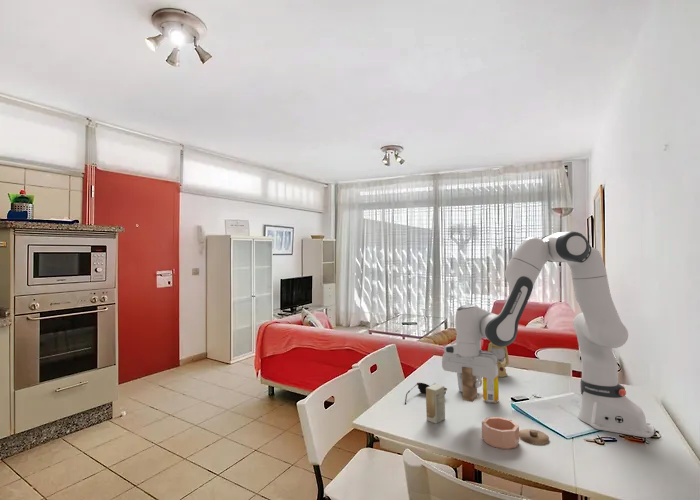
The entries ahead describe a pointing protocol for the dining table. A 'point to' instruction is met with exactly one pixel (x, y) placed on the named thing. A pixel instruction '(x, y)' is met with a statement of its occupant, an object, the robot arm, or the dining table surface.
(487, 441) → the jar
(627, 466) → the dining table surface
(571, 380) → the dining table surface
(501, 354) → the lantern
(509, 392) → the dining table surface
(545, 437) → the jar lid
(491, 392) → the beer can
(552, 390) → the dining table surface
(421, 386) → the sunglasses
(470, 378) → the brown wooden block
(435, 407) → the skincare box
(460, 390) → the cup
